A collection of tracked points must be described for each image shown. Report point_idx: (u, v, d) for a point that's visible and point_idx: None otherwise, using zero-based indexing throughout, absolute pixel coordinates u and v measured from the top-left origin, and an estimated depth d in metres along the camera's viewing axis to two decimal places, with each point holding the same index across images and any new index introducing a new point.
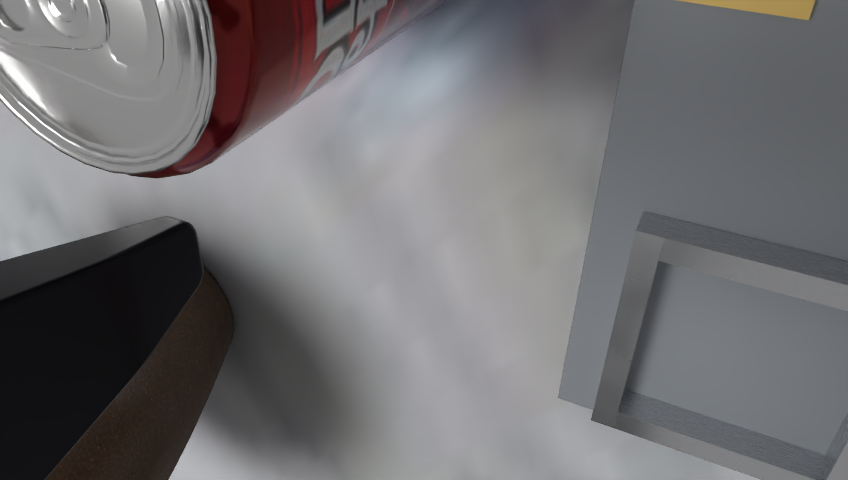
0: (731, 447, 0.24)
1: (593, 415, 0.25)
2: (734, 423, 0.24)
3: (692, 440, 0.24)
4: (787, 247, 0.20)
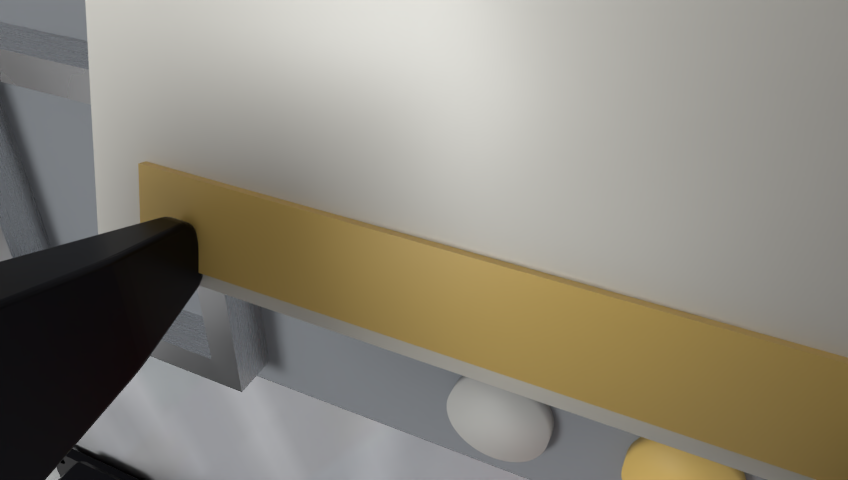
0: None
1: None
2: None
3: None
4: (77, 40, 0.16)
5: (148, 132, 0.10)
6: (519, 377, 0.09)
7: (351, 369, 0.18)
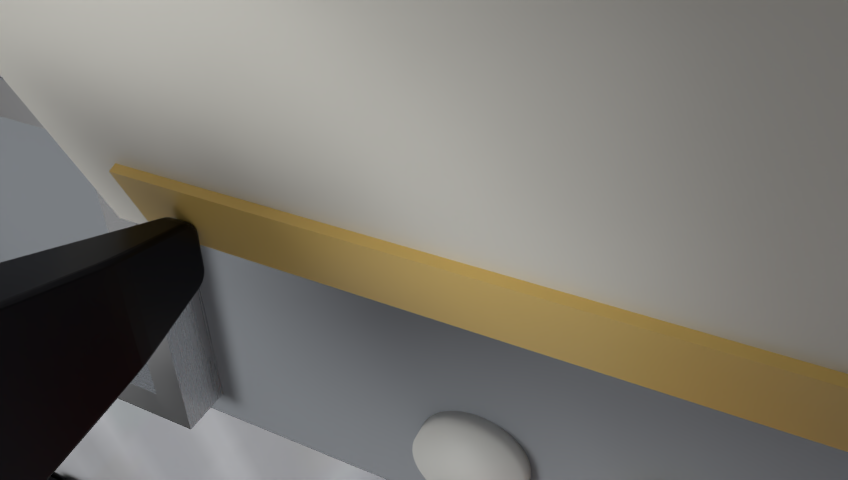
0: None
1: None
2: None
3: None
4: None
5: (102, 142, 0.09)
6: (532, 346, 0.09)
7: (310, 405, 0.16)
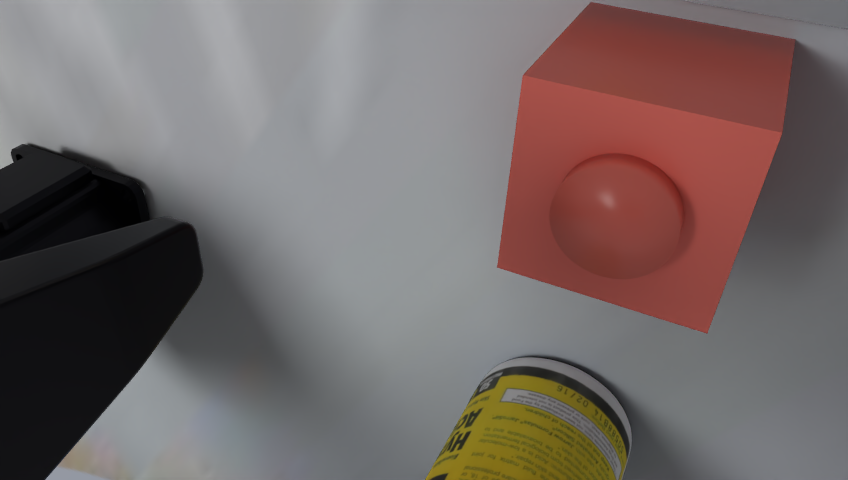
0: None
1: None
2: None
3: None
4: None
5: None
6: None
7: None
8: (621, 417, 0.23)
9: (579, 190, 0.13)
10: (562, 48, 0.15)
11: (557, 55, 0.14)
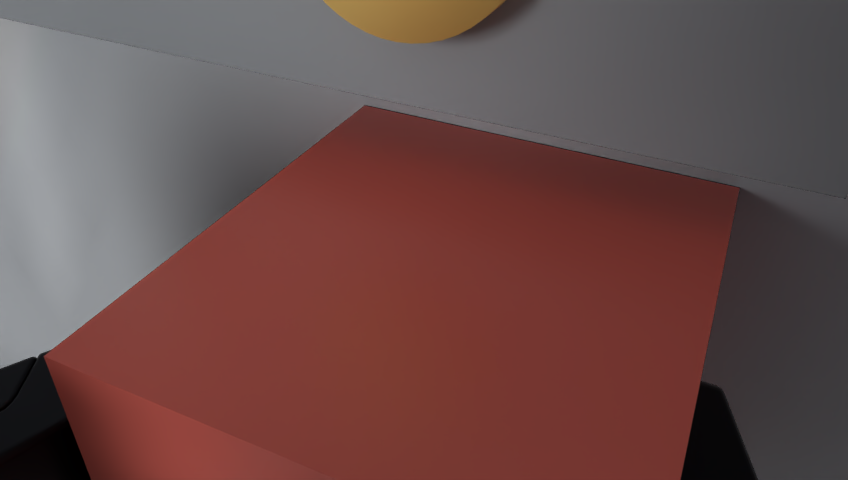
0: None
1: None
2: None
3: None
4: None
5: None
6: None
7: None
8: None
9: None
10: (215, 246, 0.07)
11: (187, 272, 0.06)
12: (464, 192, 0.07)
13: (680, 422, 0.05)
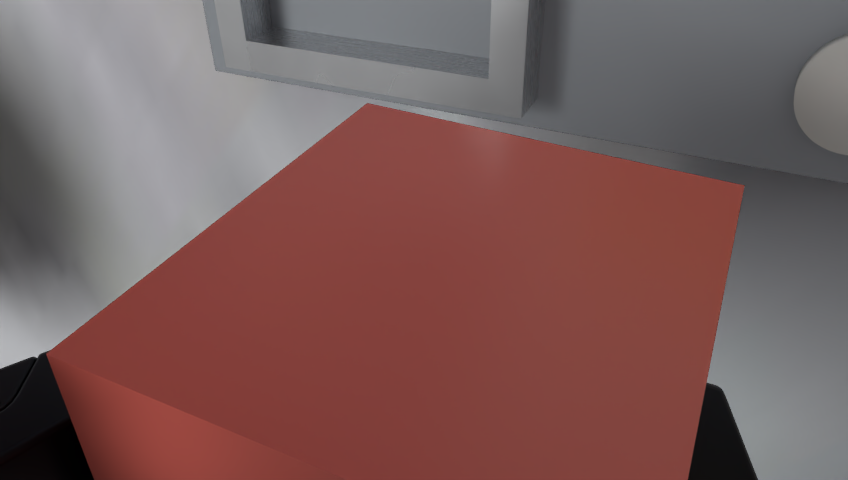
0: (378, 59, 0.17)
1: (225, 57, 0.19)
2: (398, 42, 0.18)
3: (333, 60, 0.17)
4: None
5: None
6: None
7: (653, 81, 0.16)
8: None
9: None
10: (219, 243, 0.07)
11: (190, 269, 0.06)
12: (468, 190, 0.07)
13: (687, 420, 0.05)
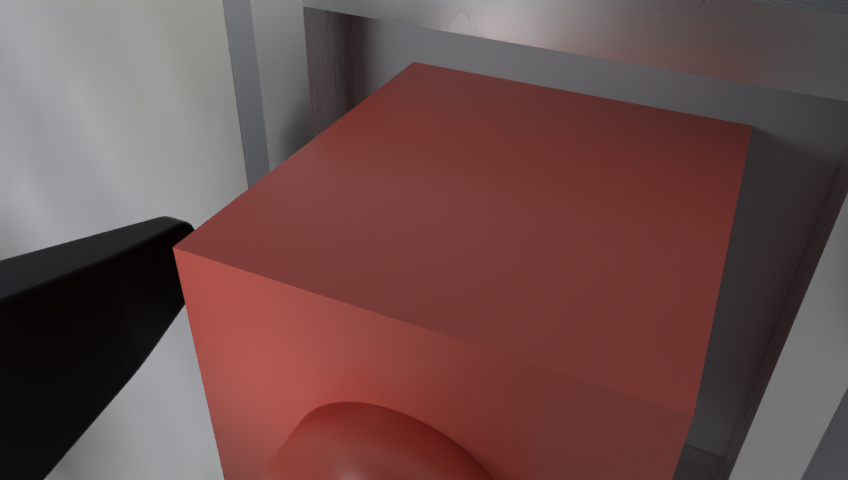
0: None
1: None
2: None
3: None
4: None
5: None
6: None
7: None
8: None
9: None
10: (301, 168, 0.08)
11: (280, 188, 0.07)
12: (510, 129, 0.09)
13: (708, 294, 0.06)
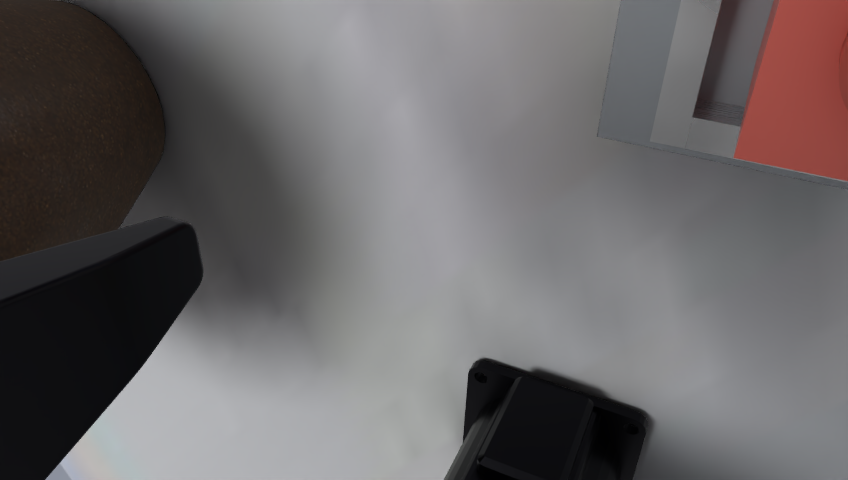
0: None
1: (654, 131, 0.17)
2: None
3: None
4: None
5: None
6: None
7: None
8: None
9: None
10: None
11: None
12: None
13: None
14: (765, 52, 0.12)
